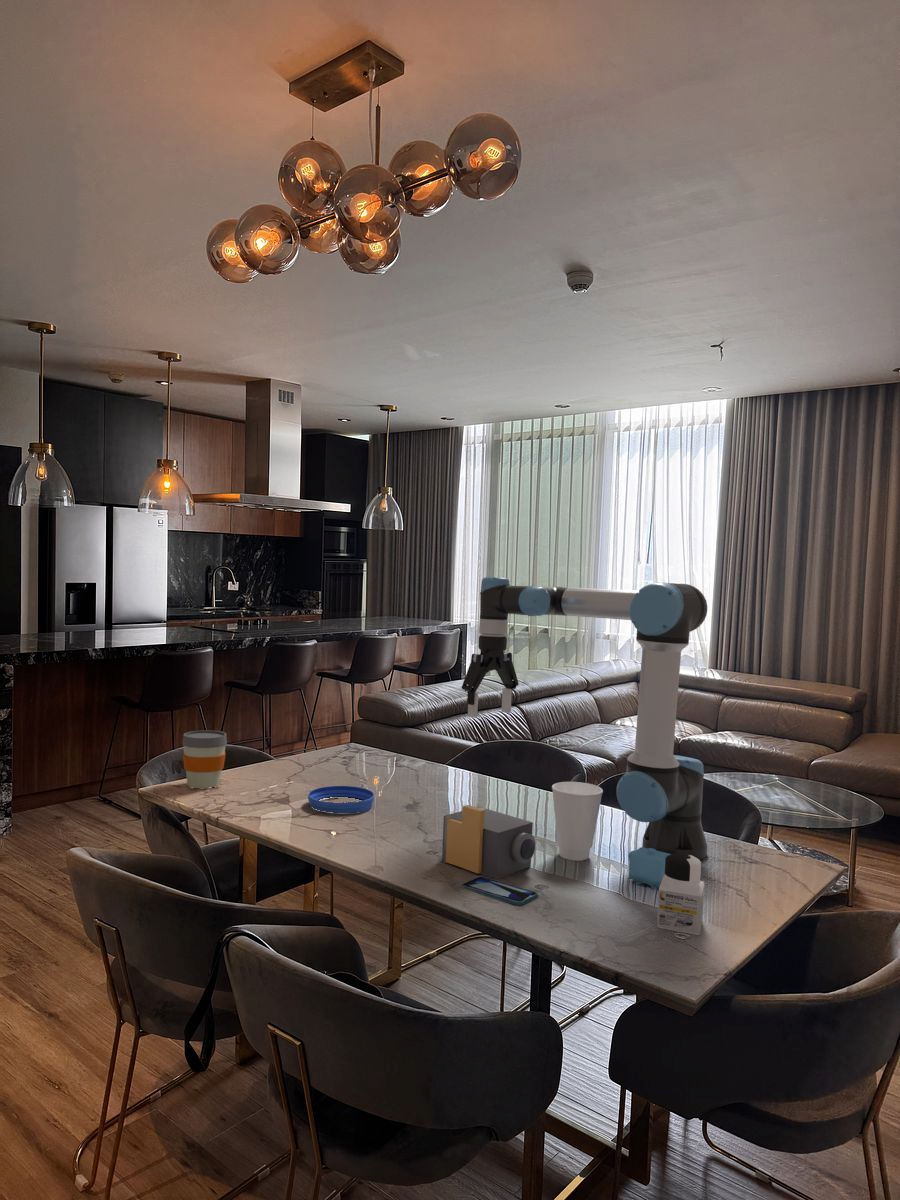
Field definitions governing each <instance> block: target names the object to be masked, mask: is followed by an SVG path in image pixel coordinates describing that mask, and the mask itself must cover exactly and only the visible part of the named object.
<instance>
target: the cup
mask: <svg viewBox="0 0 900 1200" xmlns="http://www.w3.org/2000/svg"><path fill="white" fill-rule="evenodd" d="M551 790H552V799H553V808H554V822H555V832H556V843H557V845H558V854H559V856H560V858H563V859H564V860H569V861H577V862H579V861H585V860H588V859H589V858H590V854H591V849H592V847H593V843H594V838H595V833H596V830H597V829H596V826H597V822H598V817H599V813H600V807H601V801H602V797H603V793H604V790H603V788H601V787H600V786H598V785H597V784H592V783H589V782H588V783H587V782H581V781H580V782H578V781H561V782H556V783H554V784H552V786H551Z"/></svg>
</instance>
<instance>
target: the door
mask: <svg viewBox="0 0 900 1200" xmlns="http://www.w3.org/2000/svg"><path fill="white" fill-rule="evenodd" d="M476 807H477V806H472V805H469V804H466V805H463V806H462V811H463V813H462V822H461V821H457V820H454V819H451V817H445V835H444V858H443V860H442V862H443V863H446V864H449V865H450V864H451V865H454V866H456V867H459V868H461V869H463V870H467V871H470V872H472V873H475V874H478V875H479V874H480V873H481V866H482V843H483V829H484V819H485V810H483V809H480V808H476Z"/></svg>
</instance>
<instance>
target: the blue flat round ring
mask: <svg viewBox="0 0 900 1200" xmlns="http://www.w3.org/2000/svg"><path fill="white" fill-rule="evenodd" d="M330 797H348V798H355V799H359V800H362V801H359V802H348V803H347V802H346V803H344V802H343V803H333V802H324V801H325V800H321V801H319V800H320V799H323V798H330ZM307 799H308V802H309V807H310V806H311V807H313V808H314V809H317V810H320V811H326V812H333V813H355V814H358V813H357V812H361V813H364V812H367V811H369V810H370V809H371V808H372V807H373V804H374V803H373V802H374V800H375V793H374V792H373V791H372V790H370V789H367V788H364V787H360V786H351V785H330V786H323V787H318V788H315V789H312V790H310V791H309V792H308V795H307ZM311 807H310V808H311ZM363 811H364V812H363Z"/></svg>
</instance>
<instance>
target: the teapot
mask: <svg viewBox="0 0 900 1200" xmlns="http://www.w3.org/2000/svg"><path fill="white" fill-rule="evenodd" d="M668 855H671V854H668V853H664V852H660V851H656V850H655V849H653V848H648V849H647V848H643V847H642V846H641V847H639V848H637V849H636V850H632V851H629V853H628V856H627V857H628V861H629V862H628V863H629V865H628V880H631V881H635V882H634V884H635V885H637V886H642V885H643V884H646V885H648V886H649V885H650V888H651V889H652V890H659V887H660V884H661V881H662V879H663V876H664V875H665V858H666V857H667V856H668Z"/></svg>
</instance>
